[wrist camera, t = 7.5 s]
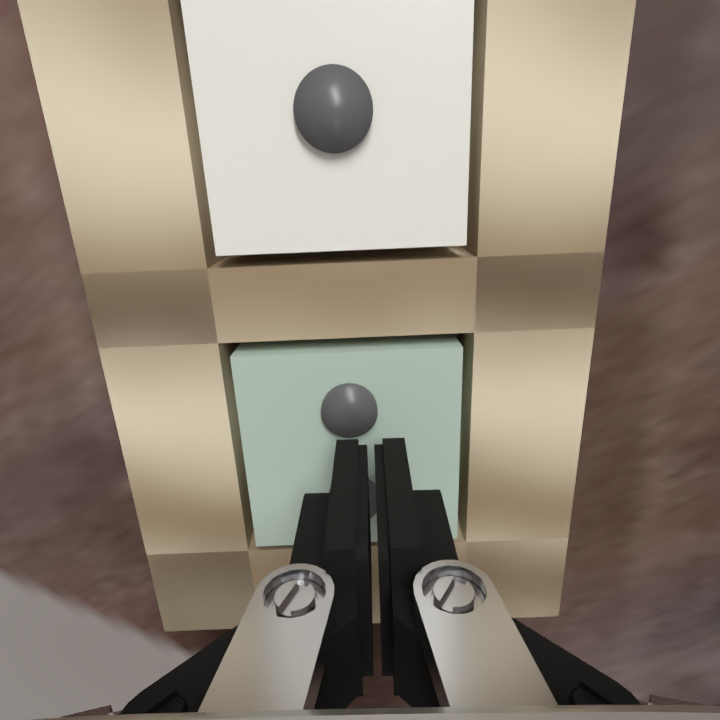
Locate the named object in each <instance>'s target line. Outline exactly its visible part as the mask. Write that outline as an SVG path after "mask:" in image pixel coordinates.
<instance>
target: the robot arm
mask: <svg viewBox="0 0 720 720" xmlns="http://www.w3.org/2000/svg"><path fill="white" fill-rule="evenodd" d="M382 443H383V444H374V455H375V484H376V512H377V540H378V568H379V596H380V624H381V653H382V676H393V683H394V696H395V695H399V696H400V697H401V698H402V699H403V700H404V701H405V702H407V703H408V704H409V705H410V706H411V707H412V708H361V709H345V708H346V707H347V706H348V705H349V704H350V703H351V702H352V701H353V700H354V699H355V698H356V697H357V696H363V676H373V623H372V564H371V528H370V503H369V478H368V454H367V445H359V441H358V439H345V440H336V447H335V456H334V464H333V473H332V481H331V490H330V493H305V494H304V497H303V501H302V506H301V511H300V516H299V521H298V525H297V530H296V535H295V540H294V545H293V550H292V555H291V559H290V564H289V565H287V566H283V567H280V568H278V569H276V570H274V571H272V572H271V573H269V574H268V575H267V576H266V577H265V578H263V579H262V580H261V582H260V583H259V585H258V586H257V588H256V589H255V592H254V594H253V596H252V598H251V600H250V602H249V604H248V606H247V609H246V611H245V613H244V615H243V617H242V619H241V621H240V623H239V625H237V626H236V627H234V628H233V629H231V630H230V631H228V632H227V633H226V634H224V635H223V636H221V637H220V638H218V639H217V640H215V641H214V642H212V643H211V644H210V645H208V646H207V647H205V648H204V649H202V650H201V651H199V652H198V653H197V654H195V655H194V656H192V657H191V658H189V659H188V660H186V661H185V662H184V663H182V664H181V665H179V666H178V667H176V668H175V669H173V670H172V671H171V672H169V673H168V674H166V675H165V676H163V677H162V678H160V679H159V680H157V681H156V682H154V683H153V684H152V685H150V686H149V687H147V688H146V689H144V690H143V691H142V692H140V693H139V694H138V695H137V696H136V697H135V698H133V699H132V700H131V701H130V702H129V703H128V704H127V705H126V706H125V708H124V709H123V710H122V711H118V712H112V708H111V705H109V706H105V707H100V708H97V709H92V710H88V711H84V712H79V713H75V714H71V715H67V716H63V717H58V718H45V719H34V720H720V706H708V705H702V704H697V703H692V702H687V701H682V700H676V699H671V698H666V697H661V696H655V695H650V697H649V701H648V702H645V701H639V700H637V699H636V698H635V697H634V696H633V694H632V693H631V692H629V691H628V690H627V689H625V688H624V687H623V686H621V685H620V684H619V683H618V682H616V681H615V680H613V679H611V678H610V677H608V676H606V675H605V674H603V673H602V672H600V671H598V670H597V669H595V668H593V667H592V666H590V665H589V664H587V663H585V662H584V661H582V660H580V659H579V658H577V657H576V656H574V655H572V654H571V653H569V652H567V651H566V650H564V649H563V648H561V647H559V646H558V645H556V644H554V643H553V642H551V641H550V640H548V639H546V638H545V637H543V636H541V635H540V634H538V633H537V632H535V631H533V630H532V629H530V628H528V627H527V626H525V625H524V624H522V623H520V622H519V621H517V620H515V619H514V618H512V617H511V616H510V614H509V612H508V610H507V608H506V607H505V605H504V603H503V601H502V599H501V597H500V595H499V593H498V592H497V590H496V588H495V586H494V584H493V582H492V581H491V580H490V578H489V577H488V576H487V574H486V573H484V572H483V571H482V570H480V569H479V568H478V567H476V566H474V565H471V564H469V563H467V562H463V561H459V560H458V556H457V552H456V549H455V545H454V541H453V537H452V533H451V529H450V525H449V521H448V517H447V513H446V509H445V506H444V502H443V498H442V494H441V491H440V490H439V489H435V490H413V488H412V481H411V475H410V469H409V463H408V457H407V451H406V444H405V439H404V438H382ZM32 720H33V719H32Z"/></svg>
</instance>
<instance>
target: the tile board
mask: <svg viewBox="0 0 720 720" xmlns="http://www.w3.org/2000/svg"><path fill="white" fill-rule="evenodd" d="M17 2H18V6H19V10H20V15H21V19H22V23H23V28H24V32H25V36H26V40H27V45H28V49H29V53H30V57H31V62H32V66H33V70H34V75H35V79H36V83H37V87H38V92H39V96H40V100H41V105H42V109H43V113H44V117H45V122H46V126H47V130H48V135H49V139H50V143H51V147H52V152H53V156H54V160H55V165H56V169H57V173H58V177H59V182H60V186H61V190H62V195H63V199H64V203H65V207H66V212H67V216H68V220H69V225H70V229H71V233H72V237H73V242H74V246H75V250H76V255H77V259H78V263H79V267H80V272H81V276H82V280H83V285H84V289H85V293H86V297H87V302H88V306H89V310H90V315H91V319H92V323H93V327H94V332H95V336H96V340H97V344H98V349H99V353H100V357H101V362H102V366H103V370H104V374H105V379H106V383H107V387H108V392H109V396H110V400H111V404H112V409H113V413H114V417H115V422H116V426H117V430H118V434H119V439H120V443H121V447H122V452H123V456H124V460H125V464H126V469H127V473H128V477H129V482H130V486H131V490H132V494H133V499H134V503H135V507H136V512H137V516H138V520H139V524H140V529H141V533H142V537H143V542H144V546H145V550H146V554H147V559H148V563H149V567H150V572H151V576H152V580H153V584H154V589H155V593H156V597H157V601H158V606H159V610H160V614H161V619H162V623H163V627H164V631H187V630H213V629H233V628H234V627H236V626H237V625H239V623H240V621H241V619H242V617H243V615H244V613H245V611H246V609H247V606H248V604H249V602H250V600H251V598H252V596H253V594H254V592H255V589H256V588H257V586H258V585H259V583H260V582H261V580H262V579H263V578H265V577H266V576H267V575H268V574H269V573H271V572H272V571H274V570H276V569H278V568H280V567H283V566H287V565H289V564H290V559H291V555H292V550H293V545H282V546H257V547H256V542H255V535H254V527H253V520H252V513H251V506H250V498H249V491H248V484H247V477H246V470H245V462H244V455H243V448H242V441H241V433H240V426H239V419H238V412H237V405H236V397H235V390H234V383H233V376H232V369H231V361H230V356H231V355H232V354H233V352H234V351H235V350H236V348H237V347H238V345H239V344H240V343H241V342H262V341H286V340H310V339H334V338H358V337H382V336H406V335H430V334H455V336H456V337H457V339H458V340H459V342H460V343H461V345H462V346H463V369H462V400H461V431H460V463H459V494H458V525H457V539H453V541H454V545H455V549H456V552H457V556H458V560H459V561H463V562H467V563H469V564H471V565H474V566H476V567H478V568H479V569H480V570H482V571H483V572H484V573H486V574H487V576H488V577H489V578H490V580H491V581H492V582H493V584H494V586H495V588H496V590H497V592H498V593H499V595H500V597H501V599H502V601H503V603H504V605H505V607H506V608H507V610H508V612H509V614H510V616H511V617H512V618H521V617H547V616H558V615H559V607H560V599H561V591H562V583H563V575H564V567H565V560H566V552H567V544H568V536H569V528H570V520H571V512H572V504H573V496H574V488H575V480H576V472H577V464H578V456H579V448H580V441H581V433H582V425H583V417H584V409H585V401H586V393H587V385H588V377H589V369H590V361H591V353H592V345H593V337H594V329H595V322H596V314H597V306H598V298H599V290H600V282H601V274H602V266H603V258H604V250H605V242H606V234H607V226H608V218H609V210H610V202H611V195H612V187H613V179H614V171H615V163H616V155H617V147H618V139H619V131H620V123H621V115H622V107H623V99H624V91H625V83H626V76H627V68H628V60H629V52H630V44H631V36H632V28H633V20H634V12H635V4H636V0H474V27H473V58H472V89H471V120H470V152H469V183H468V214H467V245H463V246H439V247H416V248H393V249H369V250H346V251H322V252H299V253H275V254H252V255H229V256H216V253H215V246H214V239H213V232H212V224H211V217H210V210H209V203H208V195H207V188H206V181H205V174H204V167H203V159H202V152H201V145H200V138H199V130H198V123H197V116H196V109H195V102H194V94H193V87H192V80H191V73H190V66H189V58H188V51H187V44H186V37H185V29H184V22H183V15H182V8H181V1H180V0H17ZM371 564H372V623H380V596H379V568H378V542H371Z"/></svg>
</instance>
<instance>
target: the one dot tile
mask: <svg viewBox="0 0 720 720" xmlns="http://www.w3.org/2000/svg"><path fill="white" fill-rule="evenodd" d="M180 1H181V8H182V15H183V22H184V29H185V37H186V44H187V51H188V58H189V66H190V73H191V80H192V87H193V94H194V102H195V109H196V116H197V123H198V130H199V138H200V145H201V152H202V159H203V167H204V174H205V181H206V188H207V195H208V203H209V210H210V217H211V224H212V232H213V239H214V246H215V253H216V256H229V255H252V254H275V253H299V252H322V251H346V250H369V249H393V248H416V247H439V246H463V245H467V214H468V183H469V152H470V120H471V89H472V58H473V27H474V0H180Z"/></svg>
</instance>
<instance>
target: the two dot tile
mask: <svg viewBox="0 0 720 720" xmlns="http://www.w3.org/2000/svg"><path fill="white" fill-rule="evenodd" d="M230 361H231V369H232V376H233V383H234V390H235V397H236V405H237V412H238V419H239V426H240V433H241V441H242V448H243V455H244V462H245V470H246V477H247V484H248V491H249V498H250V506H251V513H252V520H253V527H254V535H255V542H256V547H257V546H282V545H294V540H295V535H296V530H297V525H298V521H299V516H300V511H301V506H302V501H303V497H304V494H305V493H330V490H331V481H332V473H333V464H334V456H335V447H336V440H345V439H358V441H359V445H367V454H368V478H369V503H370V528H371V542H378V540H377V512H376V484H375V455H374V444H383V443H382V438H404V439H405V444H406V451H407V457H408V463H409V469H410V475H411V481H412V488H413V490H435V489H439V490H440V491H441V494H442V498H443V502H444V506H445V509H446V513H447V517H448V521H449V525H450V529H451V533H452V537H453V539H457V525H458V494H459V463H460V431H461V400H462V369H463V346H462V345H461V343H460V342H459V340H458V339H457V337H456V336H455V334H430V335H406V336H382V337H358V338H334V339H310V340H286V341H262V342H241V343H240V344H239V345H238V347H237V348H236V350H235V351H234V352H233V354H232V355H231V356H230Z"/></svg>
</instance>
